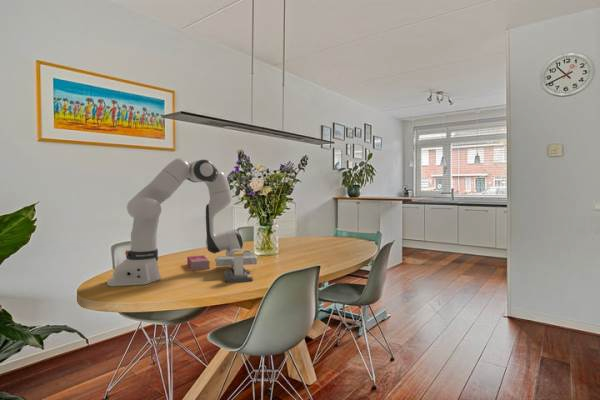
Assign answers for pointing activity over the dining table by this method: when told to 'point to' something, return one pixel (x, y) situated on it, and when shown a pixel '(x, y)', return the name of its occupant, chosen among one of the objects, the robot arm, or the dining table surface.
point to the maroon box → (198, 262)
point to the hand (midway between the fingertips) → (238, 263)
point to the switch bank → (241, 278)
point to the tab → (238, 263)
